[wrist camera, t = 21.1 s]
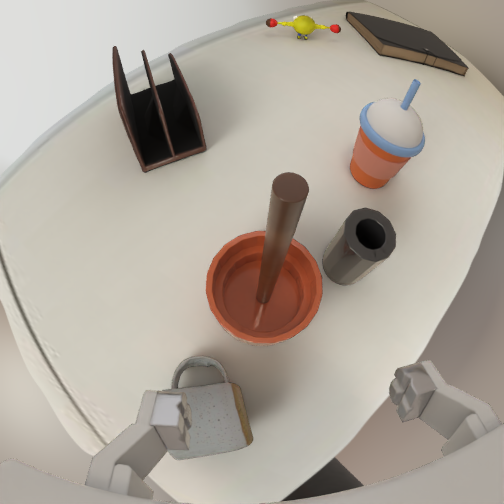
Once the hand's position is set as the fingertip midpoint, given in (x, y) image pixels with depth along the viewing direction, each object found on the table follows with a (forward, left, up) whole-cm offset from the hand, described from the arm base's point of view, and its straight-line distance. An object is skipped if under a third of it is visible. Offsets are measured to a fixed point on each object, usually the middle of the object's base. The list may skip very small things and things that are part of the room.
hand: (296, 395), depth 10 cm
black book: (+64, -66, -22) cm, 95 cm away
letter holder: (+40, +5, -22) cm, 46 cm away
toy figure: (+63, -30, -22) cm, 74 cm away
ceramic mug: (-2, +7, -22) cm, 24 cm away
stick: (+8, -2, -22) cm, 23 cm away
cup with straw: (+21, -23, -22) cm, 39 cm away
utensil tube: (+9, -13, -22) cm, 27 cm away
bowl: (+8, -2, -22) cm, 24 cm away
